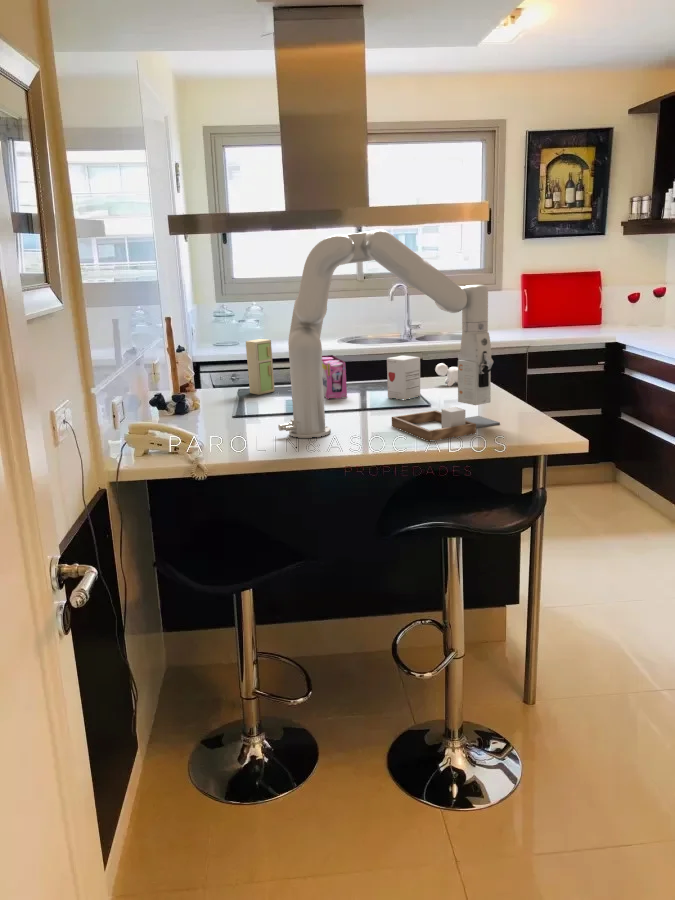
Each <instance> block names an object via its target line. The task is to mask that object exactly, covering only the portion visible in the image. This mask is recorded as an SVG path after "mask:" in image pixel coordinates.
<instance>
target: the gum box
mask: <svg viewBox="0 0 675 900" xmlns="http://www.w3.org/2000/svg"><path fill="white" fill-rule="evenodd" d="M346 373H347V369H346V362H345V361H344V360H342V359H341V358H338V357H336V356H335V355H333V354H329V355H328V354H327V355H322V375H323V393H324V398H325V399H327V398H328V399H327V400H330V399H329V398H336V399H342V398H341V397H347V398H348V389H347V387H348V386H347V374H346Z"/></svg>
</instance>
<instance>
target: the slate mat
mask: <svg viewBox="0 0 675 900" xmlns="http://www.w3.org/2000/svg"><path fill="white" fill-rule="evenodd" d="M465 420H466V421H469V422H472V423H475V424H476V429H480V428H485V427H492V426H497V425H498V426H499V425H500V424H501V422H500V421H497V420H494V419H490V418H487V417H484V416H481V415H476V416H475V415H474V416H469V417H465Z"/></svg>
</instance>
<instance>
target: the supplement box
mask: <svg viewBox="0 0 675 900" xmlns="http://www.w3.org/2000/svg"><path fill="white" fill-rule="evenodd" d="M386 371H387V372H386V373H387V374H386V375H387V376H386V378H387V379H386V380H387V381H386V382H387V398H388V397H389V398H388V399H392V398H396V399H395V400H398V399H404V400H406V399H409V398H413V397H418V396H420V397H421V357H420V356H412V355H398V356H392V357H391V356H390V357H387V358H386ZM418 398H419V397H418ZM404 400H403V401H404ZM406 401H407V400H406Z"/></svg>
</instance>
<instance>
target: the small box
mask: <svg viewBox="0 0 675 900" xmlns="http://www.w3.org/2000/svg"><path fill="white" fill-rule="evenodd" d="M483 363H485V361H481V362H480V364H483ZM457 367H458V383H457V402H458V403H462V404H468V405H472V406H478V405H485V404H486V405H487V404H490V403H491V396H492V395H491V383H492V382H491V377H492V375H491V371H490V373H489V386H488V387H481V388H480V387H479V374H480V371H479V366H478V365H477V362H472V361H466V360H457ZM484 367H485V366H482V368H483V369H484Z"/></svg>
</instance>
